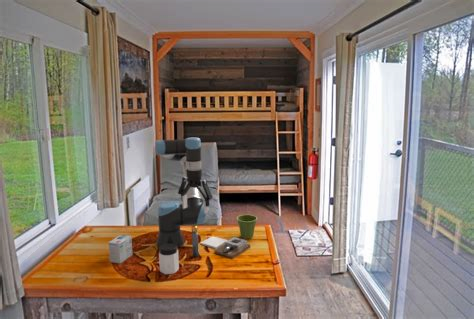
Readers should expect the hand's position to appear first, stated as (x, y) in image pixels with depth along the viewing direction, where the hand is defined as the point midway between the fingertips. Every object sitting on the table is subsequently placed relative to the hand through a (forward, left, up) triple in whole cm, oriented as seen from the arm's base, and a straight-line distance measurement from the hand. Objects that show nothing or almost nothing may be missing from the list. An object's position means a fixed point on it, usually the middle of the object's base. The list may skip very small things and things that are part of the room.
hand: (195, 210), depth 191 cm
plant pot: (+8, +35, -25) cm, 44 cm away
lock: (+12, +15, -24) cm, 31 cm away
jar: (0, -19, -25) cm, 31 cm away
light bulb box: (-30, -24, -25) cm, 46 cm away
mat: (-2, +17, -25) cm, 30 cm away
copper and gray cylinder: (0, -1, -25) cm, 25 cm away
